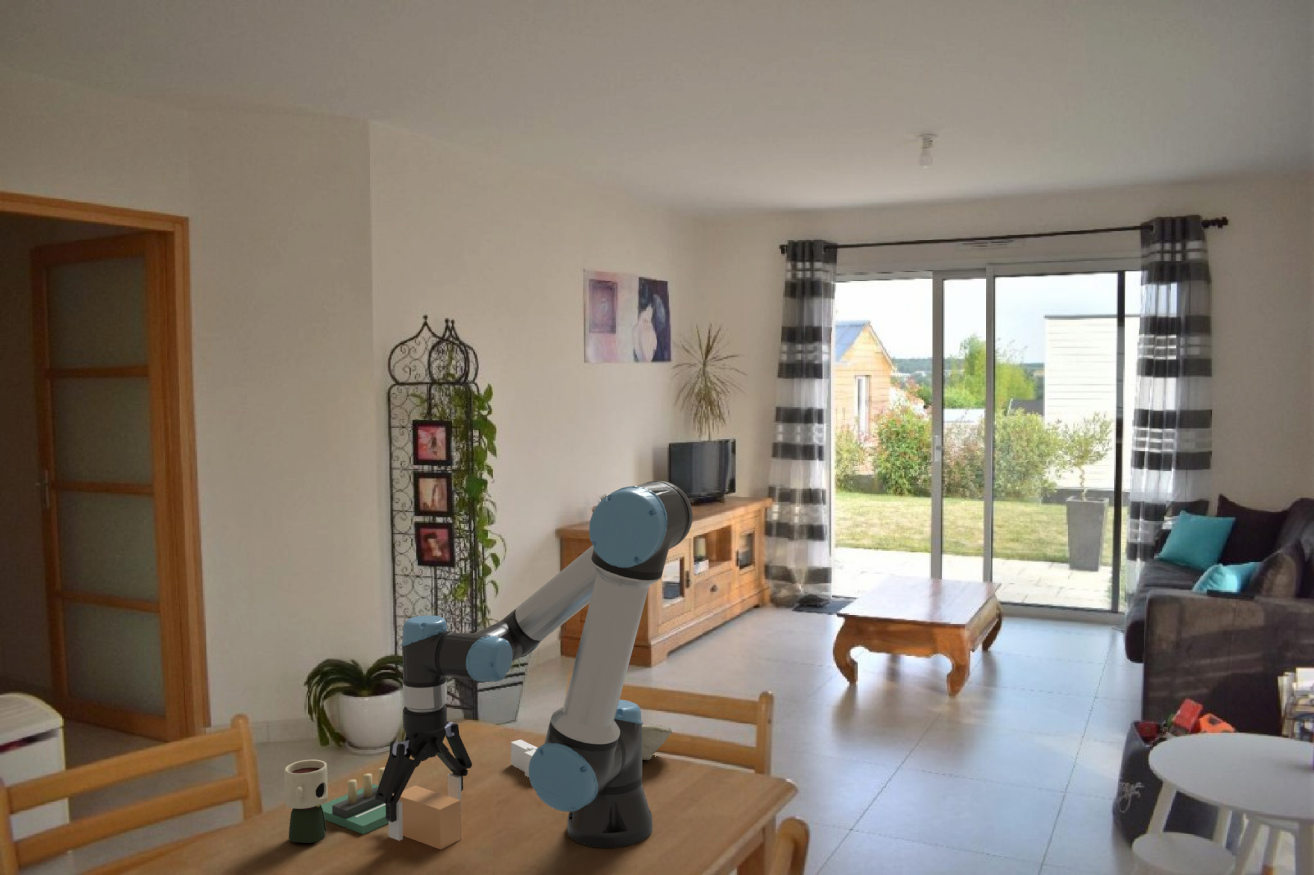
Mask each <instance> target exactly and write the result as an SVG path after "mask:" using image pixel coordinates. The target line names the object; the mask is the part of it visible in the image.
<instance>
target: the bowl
mask: <svg viewBox="0 0 1314 875" xmlns="http://www.w3.org/2000/svg"><path fill="white" fill-rule="evenodd" d="M672 734H673V731H672V728H671V727H670V726H666V725H663V724H662V725H661V724H655V723H654V724H652V723H651V724H643V725H642V761H644V760H645V761H650V760H651V759H652V758H653V755H654V754H655V753H656V752H657V751H658V750H659V748H660V747H661V746H662V745H663V744H664V743H665V742H667V740H668V738H669V737H670V735H672ZM650 755H651V756H650Z"/></svg>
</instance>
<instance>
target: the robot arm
mask: <svg viewBox="0 0 1314 875" xmlns="http://www.w3.org/2000/svg"><path fill="white" fill-rule="evenodd" d="M693 514H694V512H693V507H692V505H691V501H690V498H688V496H687V494H686V493H685V492H684V491H683V490H682V489H681V488H680V487H678V486H677V485H675V484H673V483H671V482H668V481H665V480H664V481H662V480H653V481H652V480H651V481H648V482H643V483H641V484H637V485H632V486H629V485H628V486H626V487H621V488H619V489H617V490H614V491H613V492H611V493H610V494H608V495H607V496H605V497H604V498H602V499H601V501H599V503H597V506H596V507H595V508H594V510H593V512H592V514H591V517H590V520H589V526H588V532H589V533H588V534H589V540H590V542H591V543H592V544H591V546H590V547H588V548H587V549H586V550H585V551H584V552H583V553H581V554H580V555H579V556H578V557H576V558H575V559H574V560H572V561H571V562H570V563H569V564H568V565H567V566H566V567H564V568H563V569H562V570H561V571H560V572H558V573H557V574H556V575H554V576H553V577H552V578H551V579H550V580H549V581H547V582H546V583H545V584H544V585H543V586H541V587H540V588H539V589H538V590H536V591H535V592H534V593H533V594H531V596H529V597H528V598H527V599H525V600H524V601H523V602H522V603H521V604H520V605H518V606H517V607H516V608H515V609H514V610H512V611H511V612H509V614H507V615H506V616H505V617H503V618H502V619H501V620H499V621H498V622H496V623H493V624H490V625H489V626H487V627H484V628H482V629H479V630H478V631H475V632H474V633H472V632H471V633H467V632H465V633H463V632H454V631H451V630H448V627H447V621H446V619H445V618H444V617H442V616H440V615H430V614H429V615H428V614H427V615H418V616H413V617H409V618H408V619H406V620H405V621H404V623H403V625H402V640H401V644H400V647H401V652H402V653H401V654H402V655H401V656H402V673H403V674H402V705H403V706H404V708H402V726H403V727H402V728H403V730H404V732H405V738H404V740H403V741H396V740H395V741H391V742H390V745H389V754H388V759H387V760H386V763H385V766H384V767H385V769H384V772H383V775H382V778H381V781H380V784H379V783H378V786H379V787H378V790H377V793H376V796H375V800H377V801H379V802H382V803H385V804H386V820H387V821H388V822H389V823H388V837H389V838H391V839H393V840H397V841H399V842H400V841H402V840H404V838H403V837H404V836H403V819H402V802H401V801H398V800H399V799H400V797H401V795H402V793H403V791H404V790H406V787H407V785H408V783H409V781H410V779H411V777H412V776H413V773H414V771H415V770H416V768H418V767H419V766H420V764H421V762H424V761H425V762H426V760H428V759H429V758H434V757H436V756H437V757H438V758H439V760H441V762H442V763H443V764H444V765H445V766H446V767H447V768H448V770H449V771H450V772H451V773H448V774H446V775H447V796H449V797H452V798H456V799H459V800H461V801H462V792H463V790H464V777H466V776H468V773H469V770H468V769H471V768H472V766H473V762H472V760H471V758H470V756H469V753H468V751H467V748H466V747H465V744H464V742H463V740H462V737H461V734H460V727H459V724H458V723H455V722H451V721H448V707H447V705H446V704H447V701H448V696H447V695H448V692H447V691H448V690H447V688H448V686H447V685H448V683H447V682H448V681H447V677H451V678H458V679H464V680H465V679H466V680H471V681H476V682H481V683H486V682H487V683H488V682H491V683H497V682H500V681H503V680H504V679H505V678H506V677H507V674H508V673H509V672H510V670H511V667H512V664H513V662H514V661H516V660H518V659H521V658H524V657H526V656H528V655H529V654H530V653H532V652H534V651H535V649H536V648H538V647H539V645H540V643H541V642H542V641H544V640H545V639H546V638H547V637H548V636H550V635H551V634H552V633H553V632H555V631H556V630H557V629H558V628H560V627H561V626H562V625H564V624H565V623H566V622H567V621H568V620H570V619H571V618H572V617H573V616H574V615H576V614H577V613H579V612H580V611H582V609H583V608H585V607H586V606H587V605H588V609H587V612H586V616H585V621H584V624H583V628H582V632H581V636H580V641H579V645H578V648H577V651H576V657H575V660H574V663H573V667H572V668H573V669H572V672H571V675H570V680H569V684H568V687H567V691H566V696H565V698H564V703H563V706H562V707H560V708H558V709H557V710H555V711H554V712H553V713H552V715H551V717H550V719H549V720H550V721H549V724H548V728H547V732H546V735H545V739H544V743H543V744H541V745H540V746H537V750H536V751H535V753H534V754H533V756H532V757H531V760H530V763H529V778H528V779H529V782H530V785H531V788H533V789H534V791H535V792H536V796H537V797H538V798H539V799H540V800H541V801H542V802H543V803H544V804H545V805H546V806H548V807H550V808H551V809H554V810H557V811H560V812H565V813H566V812H567V813H568V812H569V813H568V816H567V823H566V825H567V835H568V836H569V838H570V839H571V840H573V841H575V842H576V843H578V844H581V845H584V846H587V847H592V848H598V849H600V848H601V849H614V848H623V847H628V846H632V845H635V844H638V843H640V842H642V841H644V840H645V839H647V838H648V837H649V836H650V835H651V834H652V833H653V813H652V812H651V809H650V807H649V803H648V800H647V797H646V796H647V795H646V794H645V790H644V787H643V760H642V725H644V723H643V720H642V710H641V707H640V706H639V705H638V704H637V703H635V702H632V701H630V700H624V699H620V698H621V695H622V691H623V686H624V683H625V680H626V676H627V672H628V667H629V664H630V661H631V658H632V657H631V656H632V653H633V649H634V646H635V641H636V638H637V635H638V631H639V627H640V624H641V618H642V615H643V611H644V607H645V603H646V601H647V596H648V592H649V588H650V587H651V585H654V584H655V583H658V582H659V581H660V580H661V579H662V577H663V574H664V573H663V572H664V569H665V566H666V562H667V558H668V555H669V554H668V553H669V550H671V549H673V548H675V547H676V546H677V545H679V544H680V543H682V541H684V540H685V539H686V537H687V536H688V534H689V532H690V530H691V528H692V524H693V520H694V519H693ZM445 738H446V740H447V743H448V744H449V747H450V748H448V747H447V745H446V744H445V743H444V740H445ZM450 749H451V752H452V753H451V752H450ZM410 757H411V758H410ZM393 793H394V795H392V794H393Z"/></svg>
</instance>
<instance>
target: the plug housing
mask: <svg viewBox="0 0 1314 875" xmlns="http://www.w3.org/2000/svg"><path fill="white" fill-rule="evenodd" d="M392 795H394V793H393V794H392ZM398 801H401V802H402V819H403V837H404V838H405V837H406V838H407V839H411V840H414V841H416V842H420V843H422V844H425V845H427V846H430V847H431V848H432V847H433V848H434V849H435V848H436V849H438V850H443V849H445V848H447V847H449V846H452V845H453V844H455V843H457V842H459V841H461V840H462V799H461V800H459V799H456V798H452V797H449V796H448V795H447V794H446V795H445V794H443V793H440V792H437V791H434V790H429V789H428V788H424V787H422V786H419V785H413V786H410V787H408V788H405V789H404V791H403V793H402V795H401V797H400V799H399V800H398Z"/></svg>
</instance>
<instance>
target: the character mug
mask: <svg viewBox="0 0 1314 875" xmlns="http://www.w3.org/2000/svg"><path fill="white" fill-rule="evenodd" d="M283 772H284V774H283V776H284V802H285V805H286V806H287V808H291V809H292V810H291V811H290V819H289V827H288V839H289V841H290V842H294V843H304V844H308V843H309V844H310V843H315V842H320V840H323V839H324V838H325V837H326V834H328V832H327V825H326V820H325V818H324V813H323V808H322V806H321V805H322V804H324V803H327V801H328V796H329V791H328V790H329V788H328V763H327V762H326V761H324V760H319V759H304V760H303V759H302V760H299V761H294V762H292V763H290V764H288V765H286V766H285V767H284V771H283Z"/></svg>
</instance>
